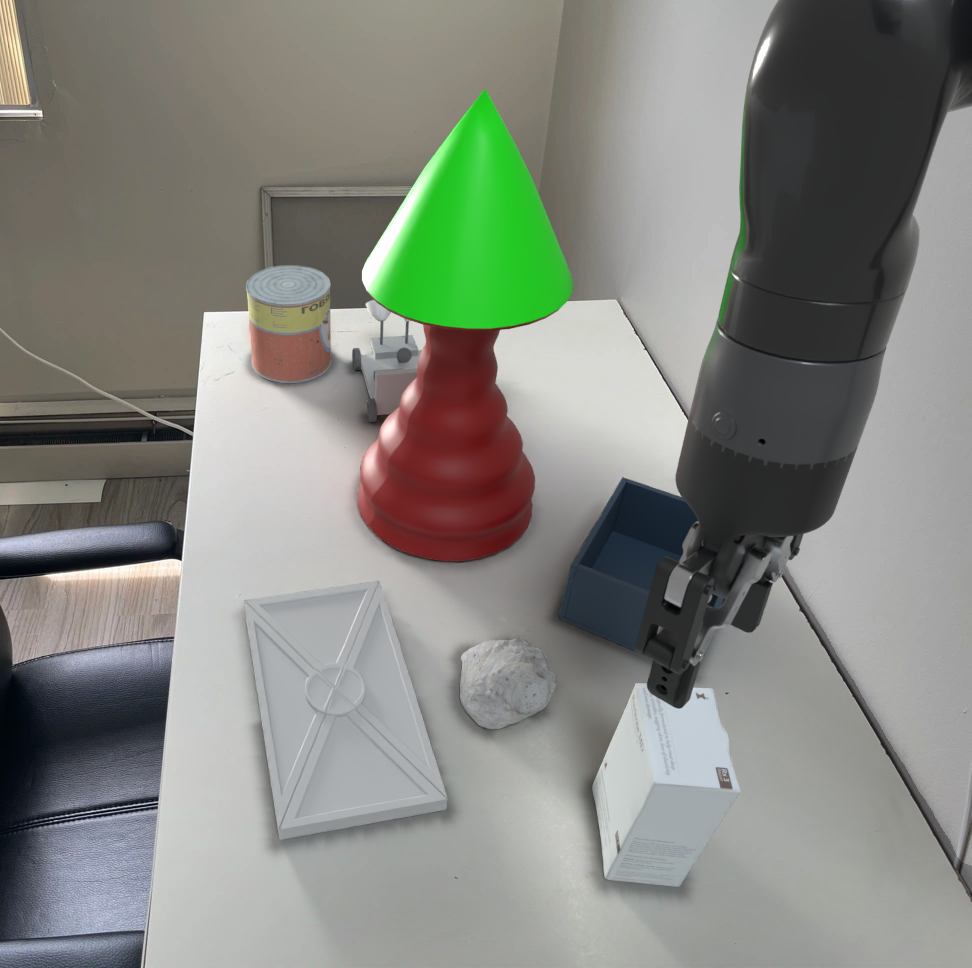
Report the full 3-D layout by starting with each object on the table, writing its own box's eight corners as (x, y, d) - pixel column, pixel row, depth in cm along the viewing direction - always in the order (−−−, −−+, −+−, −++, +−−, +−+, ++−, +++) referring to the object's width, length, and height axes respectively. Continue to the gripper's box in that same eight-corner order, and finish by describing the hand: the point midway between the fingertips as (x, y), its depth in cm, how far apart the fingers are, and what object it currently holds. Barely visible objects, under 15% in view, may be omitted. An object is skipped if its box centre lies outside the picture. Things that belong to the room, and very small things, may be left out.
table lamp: (327, 480, 103) (321, 75, 74) (466, 433, 110) (510, 45, 81) (415, 589, 90) (450, 145, 61) (568, 527, 97) (664, 102, 68)
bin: (732, 575, 91) (754, 521, 86) (693, 676, 81) (715, 621, 76) (608, 529, 96) (622, 476, 91) (557, 618, 87) (570, 564, 82)
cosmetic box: (590, 787, 73) (628, 675, 63) (664, 793, 72) (714, 681, 63) (605, 887, 66) (649, 780, 57) (687, 894, 66) (746, 788, 56)
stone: (497, 607, 85) (583, 652, 77) (500, 645, 87) (583, 692, 80) (424, 657, 80) (508, 711, 72) (428, 696, 82) (510, 751, 75)
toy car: (349, 290, 119) (432, 284, 120) (349, 352, 125) (428, 346, 126) (372, 360, 105) (465, 353, 106) (370, 426, 112) (458, 418, 113)
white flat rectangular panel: (279, 841, 70) (445, 811, 71) (278, 827, 68) (448, 797, 70) (245, 613, 87) (379, 593, 89) (243, 598, 86) (379, 578, 88)
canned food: (328, 384, 119) (327, 305, 111) (246, 382, 120) (239, 303, 112) (334, 341, 128) (333, 265, 120) (257, 339, 128) (252, 263, 121)
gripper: (788, 509, 36) (705, 766, 45) (911, 392, 44) (819, 631, 53) (625, 444, 41) (579, 689, 50) (763, 349, 49) (702, 575, 58)
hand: (703, 659), depth 51 cm, fingers open, 8 cm apart
